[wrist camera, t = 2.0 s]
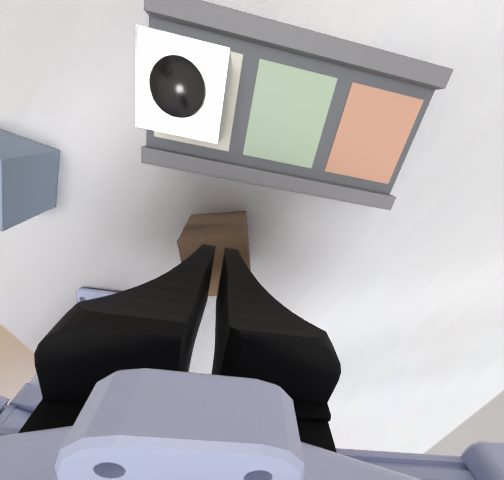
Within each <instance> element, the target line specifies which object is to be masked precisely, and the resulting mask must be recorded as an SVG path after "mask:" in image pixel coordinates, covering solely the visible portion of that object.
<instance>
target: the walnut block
mask: <svg viewBox="0 0 504 480" xmlns="http://www.w3.org/2000/svg"><path fill="white" fill-rule="evenodd" d="M177 243H178V247H179V252H180V257H181V261H182V262H183V261H184V260H185V259H187V258H188V257H189V256H190V255H191V254H192V253H193V252H195V251H196V250H197V249H198V248H199V247H200V246H201V245H202V244H206V245H212V246H216V249H215V256H214V262H213V269H212V275H211V281H210V287H209V293H208V296H217V292H218V285H219V279H220V274H221V268H222V262H223V256H224V250H225V248H231V249H238V250H239V252H240V254H241V256H242V258H243V260H244V261H245V263H246V265H247V266H248V268H249V270H250V256H249V243H248V231H247V218H246V211H239V212H226V213H213V214H200V215H191V216H190V218H189V220H188V222H187V224H186V226H185V227H184V229H183V231H182V233H181V235H180V237H179V239H178V241H177Z"/></svg>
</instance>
